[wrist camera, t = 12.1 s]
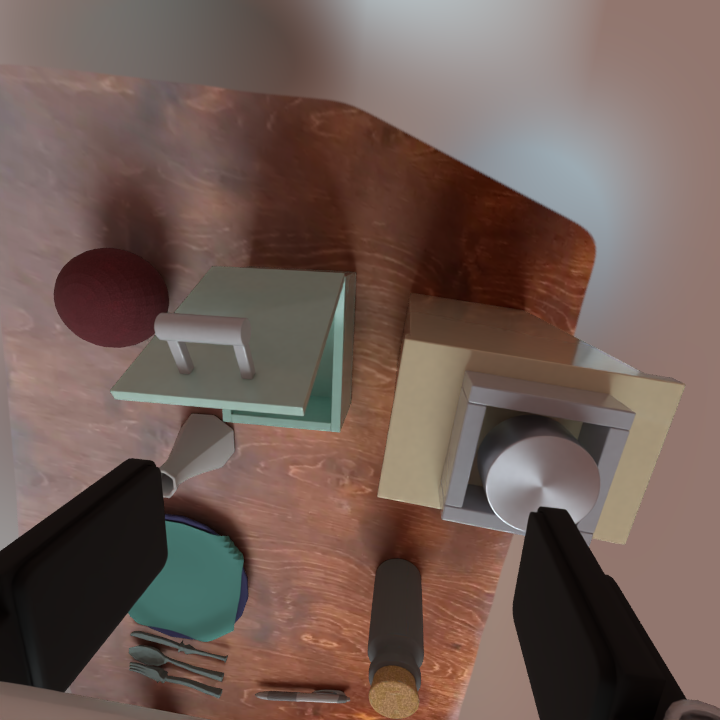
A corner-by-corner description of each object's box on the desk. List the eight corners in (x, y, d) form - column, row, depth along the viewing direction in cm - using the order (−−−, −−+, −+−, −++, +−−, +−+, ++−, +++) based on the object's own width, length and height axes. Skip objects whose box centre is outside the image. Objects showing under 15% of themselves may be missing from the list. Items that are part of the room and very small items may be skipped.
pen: (351, 695, 59) (349, 705, 57) (257, 691, 61) (254, 701, 59) (350, 689, 58) (348, 700, 57) (256, 685, 60) (253, 695, 59)
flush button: (488, 406, 18) (499, 426, 16) (591, 423, 18) (616, 447, 16) (467, 492, 19) (474, 522, 17) (563, 510, 19) (582, 543, 17)
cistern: (407, 289, 43) (404, 349, 17) (529, 308, 42) (725, 402, 16) (394, 366, 45) (373, 525, 19) (509, 386, 44) (651, 581, 18)
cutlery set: (262, 526, 53) (256, 538, 51) (236, 693, 61) (230, 710, 59) (117, 490, 54) (105, 500, 52) (111, 658, 62) (100, 673, 60)
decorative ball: (93, 310, 48) (14, 326, 38) (119, 231, 45) (40, 226, 35) (169, 351, 48) (109, 377, 39) (199, 275, 45) (143, 282, 36)
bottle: (372, 590, 54) (358, 715, 39) (379, 553, 52) (367, 670, 38) (416, 600, 53) (419, 730, 39) (425, 563, 51) (431, 684, 37)
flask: (228, 474, 52) (186, 525, 42) (174, 453, 52) (121, 499, 42) (243, 425, 49) (203, 467, 40) (187, 403, 50) (134, 440, 40)
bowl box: (351, 403, 47) (339, 432, 40) (251, 394, 48) (222, 421, 41) (356, 271, 43) (345, 276, 36) (248, 266, 44) (215, 269, 37)
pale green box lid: (304, 416, 24) (294, 350, 21) (114, 399, 25) (76, 334, 22) (344, 280, 35) (342, 224, 32) (214, 273, 37) (199, 218, 33)
